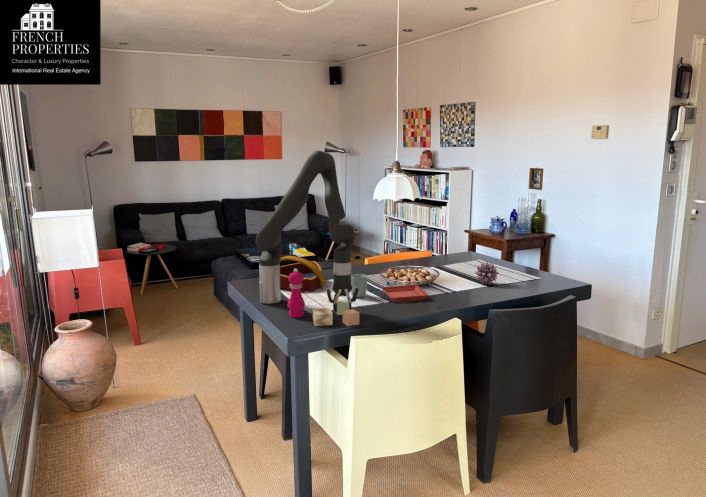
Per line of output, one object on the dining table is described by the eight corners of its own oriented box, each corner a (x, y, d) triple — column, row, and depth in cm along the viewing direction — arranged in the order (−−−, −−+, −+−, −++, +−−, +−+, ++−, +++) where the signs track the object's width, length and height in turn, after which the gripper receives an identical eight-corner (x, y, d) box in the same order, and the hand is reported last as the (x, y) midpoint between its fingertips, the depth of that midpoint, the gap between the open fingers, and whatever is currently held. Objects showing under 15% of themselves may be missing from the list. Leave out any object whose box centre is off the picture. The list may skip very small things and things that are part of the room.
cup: (365, 299, 246) (365, 278, 244) (348, 298, 248) (348, 277, 246) (368, 294, 254) (368, 274, 252) (352, 293, 255) (352, 273, 253)
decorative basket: (255, 287, 275) (251, 260, 271) (296, 269, 296) (292, 243, 291) (300, 301, 254) (297, 271, 249) (341, 280, 274) (338, 253, 269)
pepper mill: (288, 312, 226) (287, 266, 222) (305, 312, 226) (304, 266, 223) (287, 318, 219) (286, 270, 215) (305, 317, 219) (304, 270, 216)
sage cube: (337, 315, 223) (337, 303, 222) (335, 311, 228) (335, 300, 227) (349, 314, 224) (349, 302, 223) (346, 310, 229) (346, 299, 228)
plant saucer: (391, 304, 240) (391, 297, 240) (380, 293, 258) (380, 286, 257) (429, 301, 244) (429, 294, 244) (415, 291, 262) (415, 284, 261)
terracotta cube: (347, 326, 210) (348, 314, 209) (342, 322, 214) (342, 310, 213) (359, 324, 212) (359, 312, 211) (353, 320, 216) (353, 309, 215)
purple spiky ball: (500, 283, 276) (502, 261, 273) (493, 288, 266) (494, 265, 263) (479, 280, 282) (480, 258, 279) (471, 285, 272) (472, 262, 269)
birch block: (314, 326, 210) (314, 314, 209) (312, 320, 216) (312, 308, 215) (332, 325, 211) (332, 313, 210) (329, 319, 218) (329, 308, 217)
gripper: (326, 275, 218) (326, 315, 221) (360, 273, 221) (360, 313, 224) (323, 271, 225) (324, 309, 228) (357, 269, 228) (357, 307, 231)
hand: (342, 311), depth 226 cm, fingers closed on sage cube, 5 cm apart
